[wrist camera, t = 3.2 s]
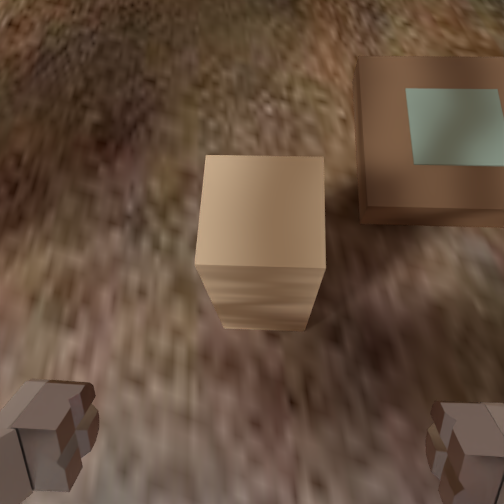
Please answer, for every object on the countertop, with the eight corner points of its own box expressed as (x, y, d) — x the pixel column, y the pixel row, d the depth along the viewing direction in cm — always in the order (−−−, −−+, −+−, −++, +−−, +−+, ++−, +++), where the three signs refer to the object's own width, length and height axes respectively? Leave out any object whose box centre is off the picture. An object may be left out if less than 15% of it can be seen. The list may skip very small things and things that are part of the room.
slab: (358, 227, 24) (368, 205, 21) (351, 87, 28) (358, 54, 25) (544, 232, 23) (576, 210, 21) (511, 88, 27) (534, 55, 25)
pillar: (224, 328, 22) (194, 264, 13) (229, 254, 23) (205, 155, 15) (304, 331, 21) (325, 268, 13) (304, 256, 23) (323, 156, 14)
